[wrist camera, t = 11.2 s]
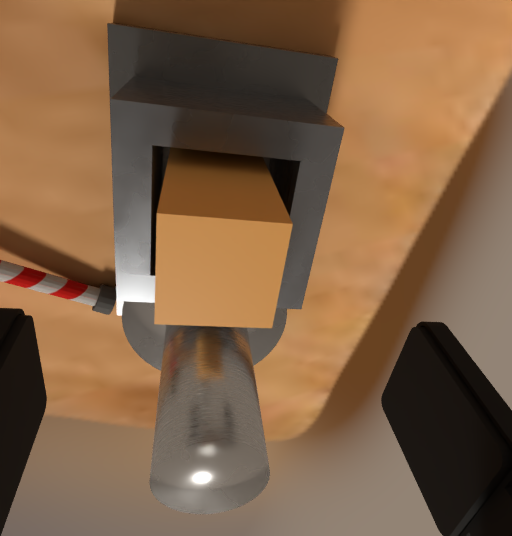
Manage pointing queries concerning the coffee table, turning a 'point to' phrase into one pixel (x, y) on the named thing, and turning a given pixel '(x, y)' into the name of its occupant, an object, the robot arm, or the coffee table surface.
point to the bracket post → (144, 236)
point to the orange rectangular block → (219, 241)
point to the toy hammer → (59, 286)
